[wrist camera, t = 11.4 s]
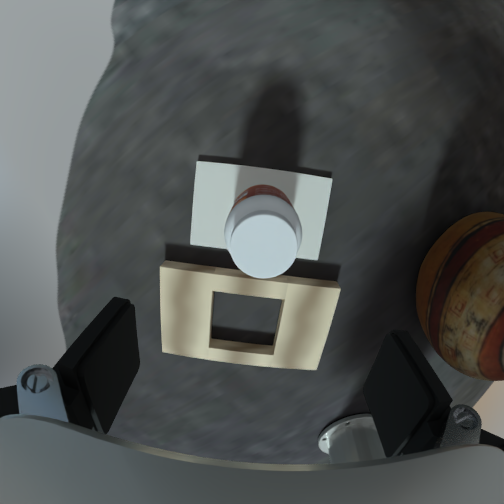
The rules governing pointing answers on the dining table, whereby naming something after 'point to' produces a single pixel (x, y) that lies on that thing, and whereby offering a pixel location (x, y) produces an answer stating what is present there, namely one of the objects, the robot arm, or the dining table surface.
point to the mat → (242, 177)
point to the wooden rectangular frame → (237, 282)
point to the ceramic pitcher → (466, 296)
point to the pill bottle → (263, 232)
